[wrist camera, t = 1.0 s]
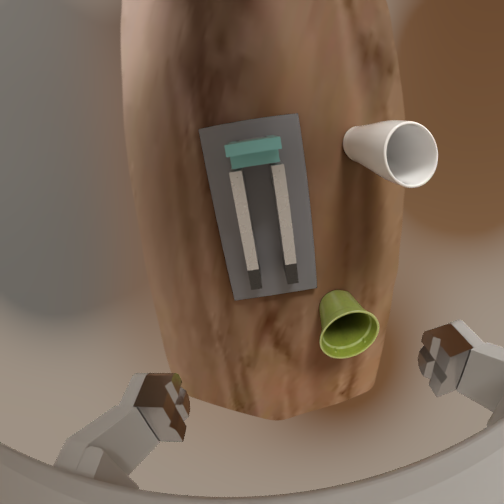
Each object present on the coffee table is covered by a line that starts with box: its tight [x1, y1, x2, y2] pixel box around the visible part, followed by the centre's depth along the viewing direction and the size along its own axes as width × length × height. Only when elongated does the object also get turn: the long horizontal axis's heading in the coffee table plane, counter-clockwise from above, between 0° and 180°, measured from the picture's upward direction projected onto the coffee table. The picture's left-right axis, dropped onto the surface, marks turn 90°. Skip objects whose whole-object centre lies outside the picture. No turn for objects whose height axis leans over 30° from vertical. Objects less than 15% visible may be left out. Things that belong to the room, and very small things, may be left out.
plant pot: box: [319, 290, 379, 359], centre depth 44 cm, size 9×9×9 cm
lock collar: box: [224, 135, 282, 169], centre depth 31 cm, size 3×6×10 cm, turn 100°
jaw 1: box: [229, 168, 262, 290], centre depth 38 cm, size 16×2×4 cm, turn 10°
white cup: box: [343, 120, 438, 188], centre depth 30 cm, size 7×7×15 cm
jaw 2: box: [269, 161, 299, 284], centre depth 38 cm, size 16×2×4 cm, turn 10°
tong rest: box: [199, 113, 317, 300], centre depth 39 cm, size 26×13×4 cm, turn 10°
